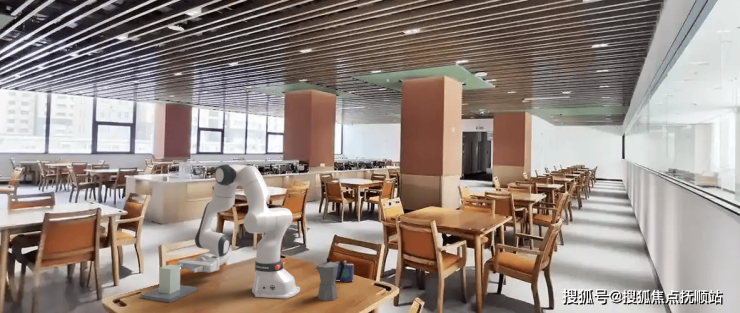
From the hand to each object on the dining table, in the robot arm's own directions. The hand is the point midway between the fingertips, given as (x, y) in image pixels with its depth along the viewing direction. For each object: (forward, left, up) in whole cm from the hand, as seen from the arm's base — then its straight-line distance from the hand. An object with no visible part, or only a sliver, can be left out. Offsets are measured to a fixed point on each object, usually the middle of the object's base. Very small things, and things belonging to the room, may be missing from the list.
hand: (185, 269), depth 180 cm
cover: (0, +9, -7) cm, 12 cm away
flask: (-69, -35, -9) cm, 78 cm away
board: (0, +9, -8) cm, 13 cm away
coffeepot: (-70, -12, -9) cm, 72 cm away
